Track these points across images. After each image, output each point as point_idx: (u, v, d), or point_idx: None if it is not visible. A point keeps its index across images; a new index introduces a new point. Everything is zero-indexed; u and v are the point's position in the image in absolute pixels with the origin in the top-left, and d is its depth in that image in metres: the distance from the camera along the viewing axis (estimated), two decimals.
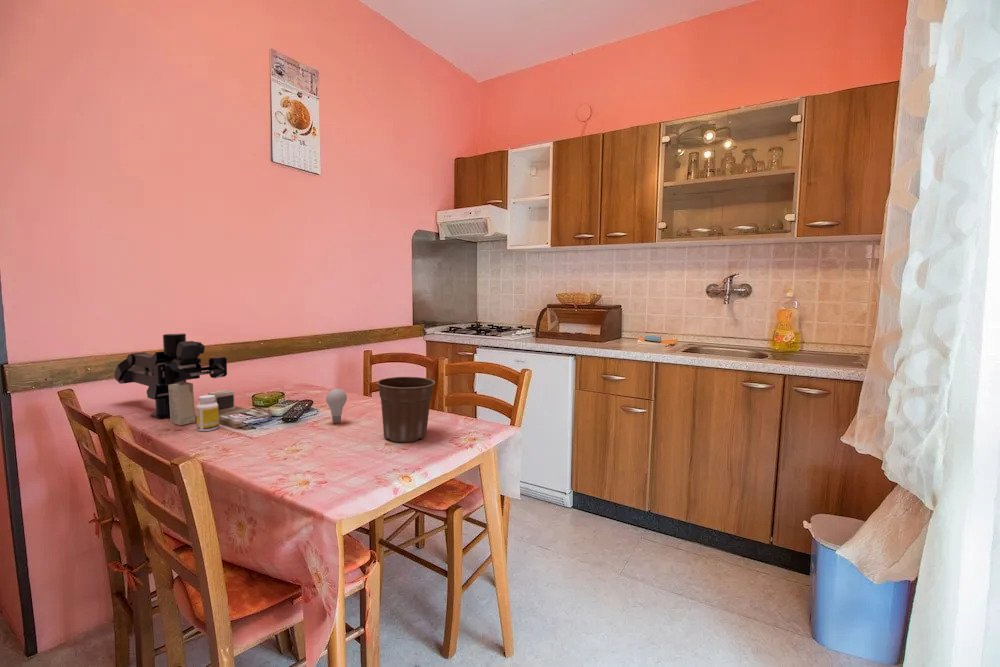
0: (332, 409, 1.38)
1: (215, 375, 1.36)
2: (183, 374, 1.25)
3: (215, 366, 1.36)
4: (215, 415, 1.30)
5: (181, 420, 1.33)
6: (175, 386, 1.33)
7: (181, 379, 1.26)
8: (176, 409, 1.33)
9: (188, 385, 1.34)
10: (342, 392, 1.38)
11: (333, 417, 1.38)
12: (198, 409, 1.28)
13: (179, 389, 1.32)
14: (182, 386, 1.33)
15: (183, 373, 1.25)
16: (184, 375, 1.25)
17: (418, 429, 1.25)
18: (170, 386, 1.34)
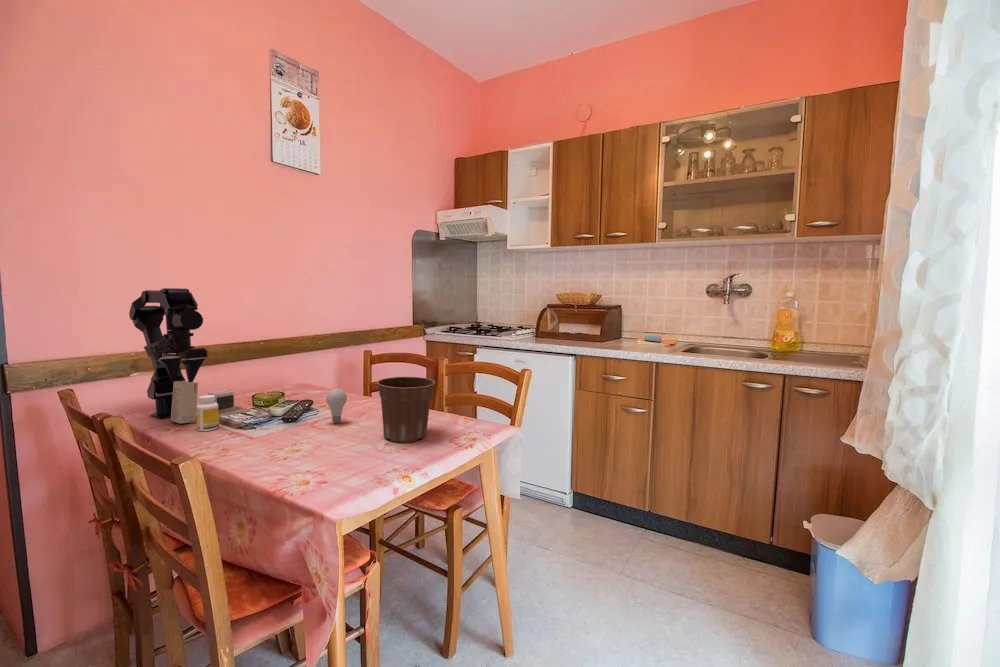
0: (332, 409, 1.38)
1: None
2: None
3: None
4: (215, 415, 1.30)
5: (182, 418, 1.33)
6: (180, 384, 1.34)
7: None
8: (178, 407, 1.34)
9: (193, 384, 1.36)
10: (342, 392, 1.38)
11: (333, 417, 1.38)
12: (198, 409, 1.28)
13: (184, 387, 1.34)
14: (187, 384, 1.34)
15: None
16: None
17: (418, 429, 1.25)
18: (175, 384, 1.35)
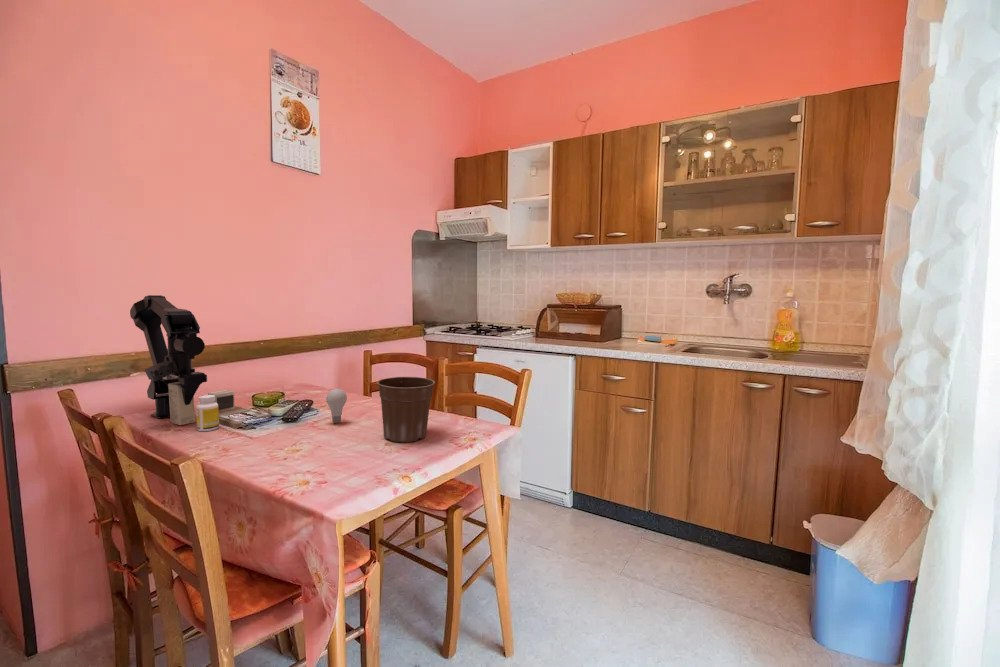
0: (332, 409, 1.38)
1: None
2: None
3: None
4: (215, 415, 1.30)
5: (181, 420, 1.33)
6: (175, 386, 1.33)
7: None
8: (176, 409, 1.33)
9: None
10: (342, 392, 1.38)
11: (333, 417, 1.38)
12: (198, 409, 1.28)
13: (179, 389, 1.32)
14: None
15: None
16: None
17: (418, 429, 1.25)
18: (170, 386, 1.34)
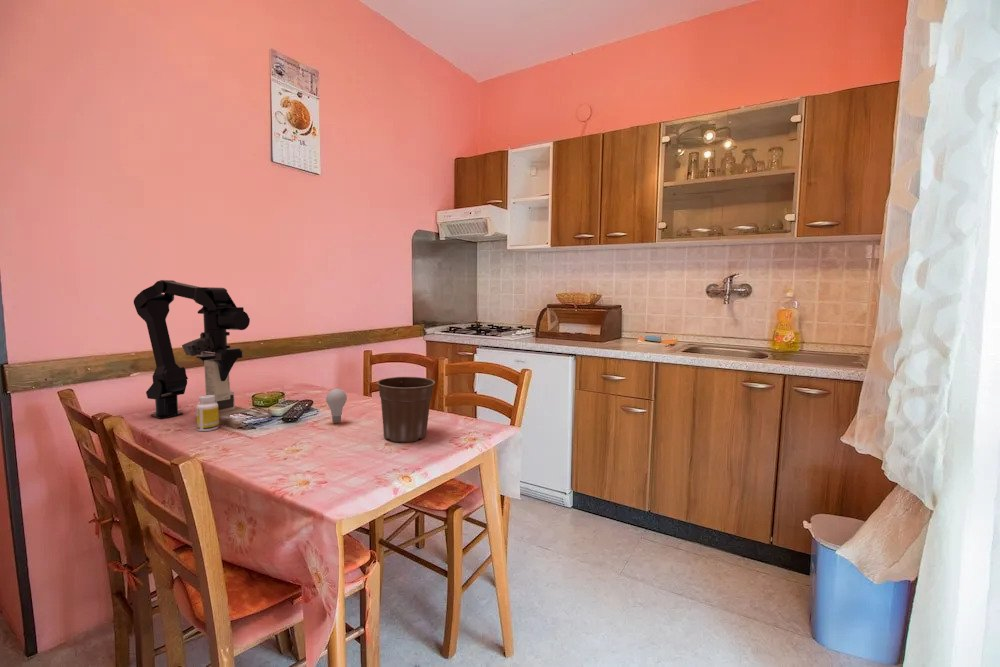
0: (332, 409, 1.38)
1: None
2: None
3: None
4: (215, 415, 1.30)
5: (217, 396, 1.34)
6: (211, 362, 1.33)
7: None
8: (212, 385, 1.34)
9: None
10: (342, 392, 1.38)
11: (333, 417, 1.38)
12: (198, 409, 1.28)
13: (215, 365, 1.33)
14: None
15: None
16: None
17: (418, 429, 1.25)
18: (206, 363, 1.35)
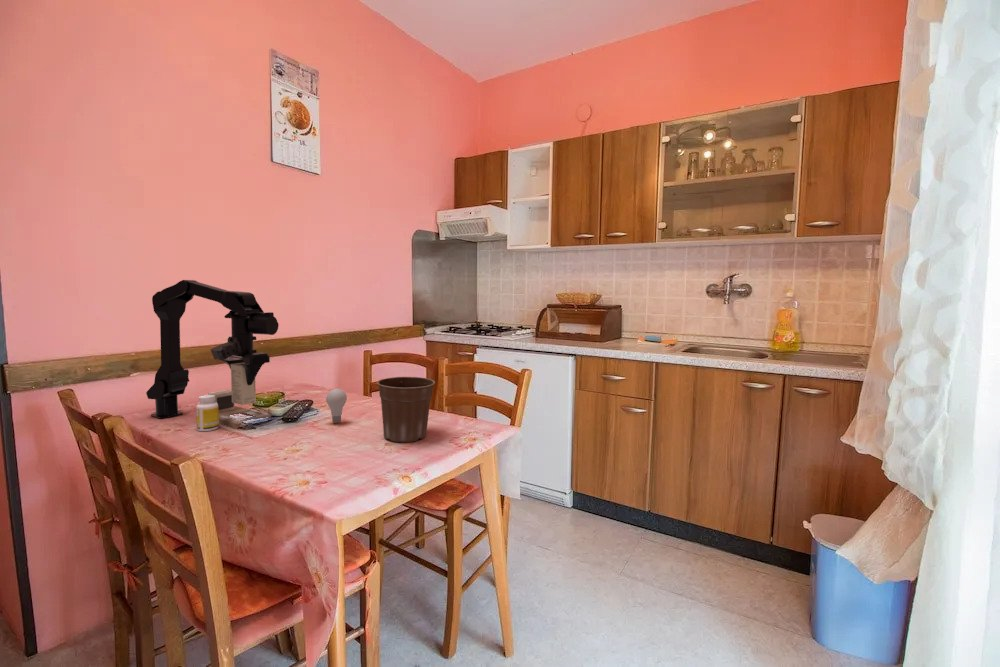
0: (332, 409, 1.38)
1: None
2: None
3: None
4: (215, 415, 1.30)
5: (244, 400, 1.35)
6: (238, 366, 1.35)
7: None
8: (239, 389, 1.35)
9: None
10: (342, 392, 1.38)
11: (333, 417, 1.38)
12: (198, 409, 1.28)
13: (242, 369, 1.34)
14: None
15: None
16: None
17: (418, 429, 1.25)
18: (233, 366, 1.36)
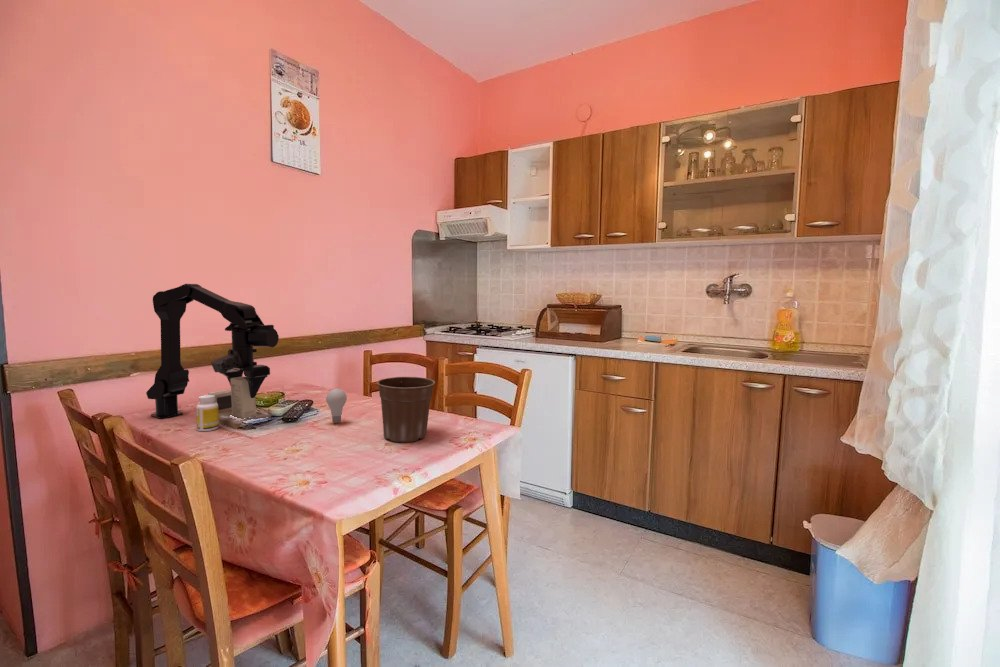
0: (332, 409, 1.38)
1: None
2: None
3: None
4: (215, 415, 1.30)
5: (244, 414, 1.36)
6: (238, 381, 1.35)
7: None
8: (239, 403, 1.36)
9: None
10: (342, 392, 1.38)
11: (333, 417, 1.38)
12: (198, 409, 1.28)
13: (242, 383, 1.35)
14: (245, 380, 1.35)
15: None
16: None
17: (418, 429, 1.25)
18: (232, 381, 1.37)
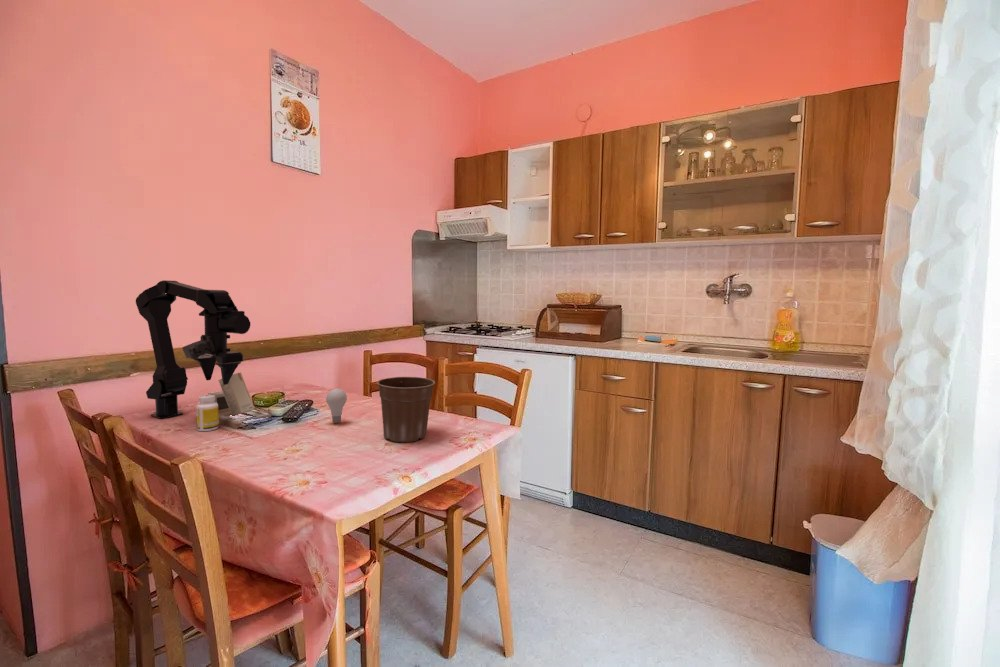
0: (332, 409, 1.38)
1: None
2: None
3: None
4: (215, 415, 1.30)
5: (241, 407, 1.35)
6: None
7: None
8: (233, 399, 1.36)
9: (237, 374, 1.37)
10: (342, 392, 1.38)
11: (333, 417, 1.38)
12: (198, 409, 1.28)
13: (230, 379, 1.35)
14: None
15: None
16: None
17: (418, 429, 1.25)
18: (221, 381, 1.37)
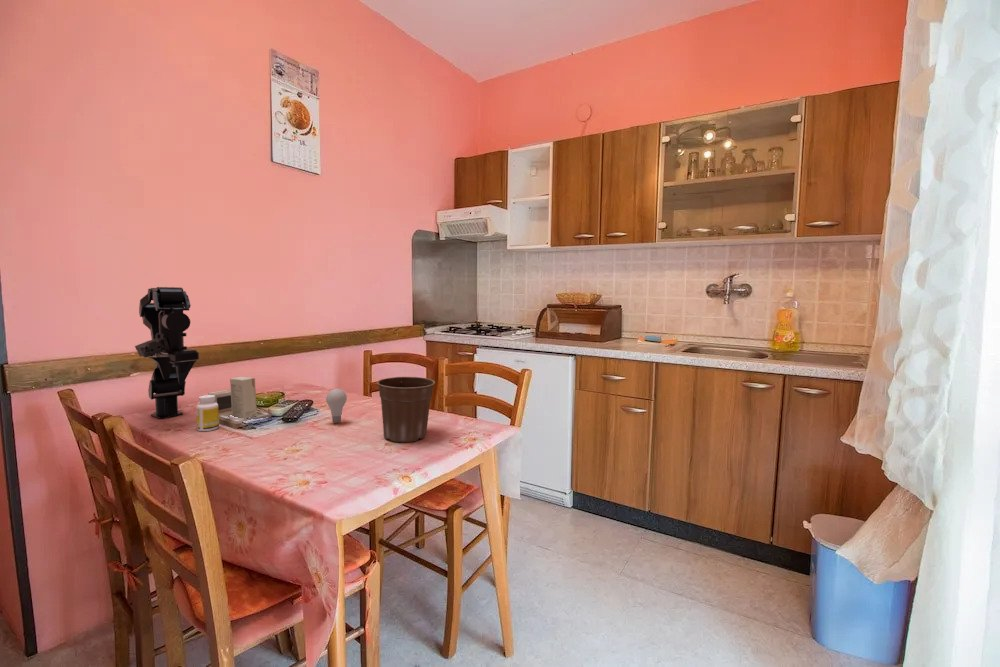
0: (332, 409, 1.38)
1: None
2: None
3: None
4: (215, 415, 1.30)
5: (245, 414, 1.36)
6: (239, 381, 1.35)
7: None
8: (240, 403, 1.36)
9: (251, 379, 1.37)
10: (342, 392, 1.38)
11: (333, 417, 1.38)
12: (198, 409, 1.28)
13: (243, 383, 1.35)
14: (246, 380, 1.35)
15: None
16: None
17: (418, 429, 1.25)
18: (233, 381, 1.36)
